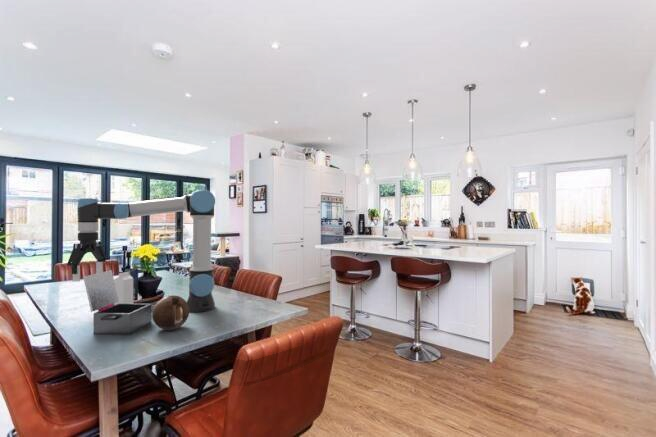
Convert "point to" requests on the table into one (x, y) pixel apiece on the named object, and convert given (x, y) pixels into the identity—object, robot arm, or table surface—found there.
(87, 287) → the lid
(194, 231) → the robot arm
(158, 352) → the table surface
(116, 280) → the milk
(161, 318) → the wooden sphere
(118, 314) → the gray box
